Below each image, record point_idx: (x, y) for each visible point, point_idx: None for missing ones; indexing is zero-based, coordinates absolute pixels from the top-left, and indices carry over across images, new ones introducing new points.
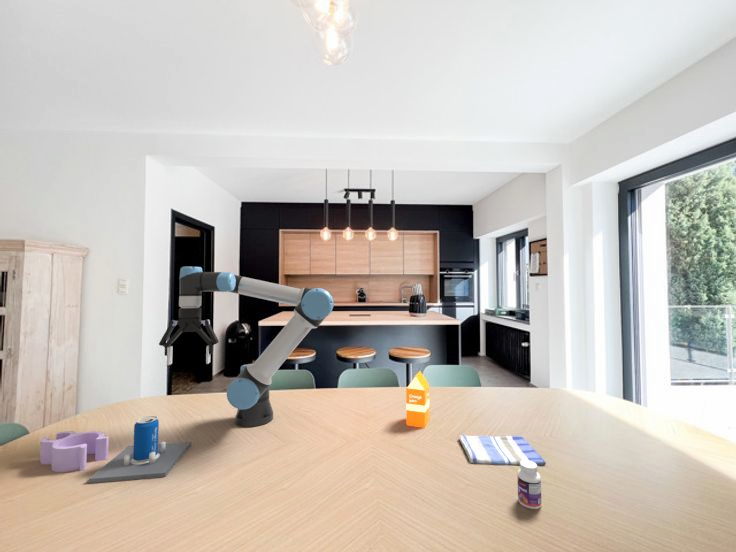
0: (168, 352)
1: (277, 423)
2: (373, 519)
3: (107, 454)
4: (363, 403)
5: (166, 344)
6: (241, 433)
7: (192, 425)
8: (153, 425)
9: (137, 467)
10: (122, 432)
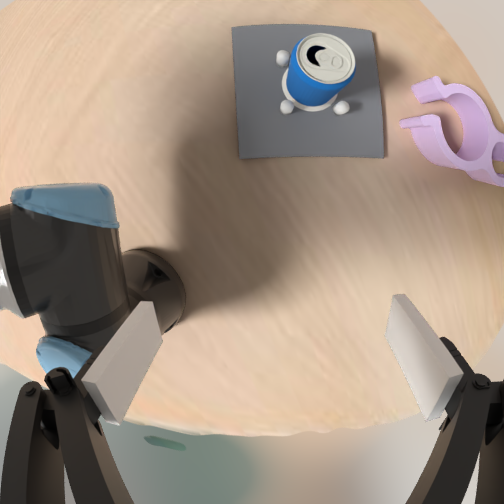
0: (436, 347)
1: None
2: (3, 25)
3: (403, 122)
4: (13, 324)
5: (481, 392)
6: (143, 215)
7: (286, 279)
8: (294, 46)
9: None
10: (428, 257)
